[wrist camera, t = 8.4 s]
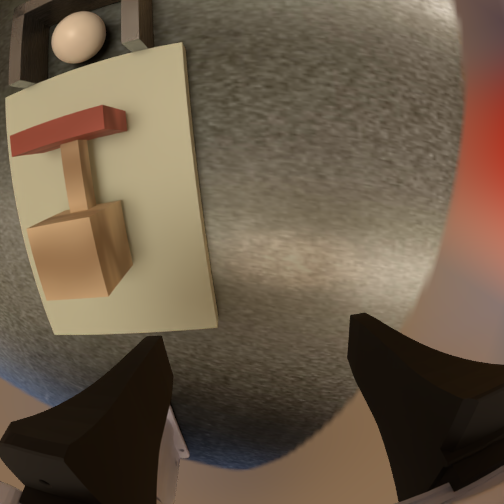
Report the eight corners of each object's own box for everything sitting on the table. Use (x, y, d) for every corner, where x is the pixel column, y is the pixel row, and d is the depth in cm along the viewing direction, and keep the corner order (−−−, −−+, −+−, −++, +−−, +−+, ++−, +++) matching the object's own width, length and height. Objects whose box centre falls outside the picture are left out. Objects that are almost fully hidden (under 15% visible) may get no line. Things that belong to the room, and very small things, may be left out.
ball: (94, -5, 12) (114, 15, 15) (43, 16, 12) (68, 30, 15) (92, 45, 13) (114, 60, 16) (40, 65, 13) (67, 74, 16)
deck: (218, 316, 22) (217, 327, 21) (62, 325, 22) (54, 334, 21) (185, 49, 16) (182, 42, 15) (17, 99, 16) (5, 97, 15)
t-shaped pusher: (148, 262, 19) (126, 295, 14) (66, 271, 19) (33, 301, 14) (125, 110, 16) (93, 102, 12) (41, 134, 16) (-2, 136, 11)
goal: (154, 55, 16) (139, 38, 13) (37, 90, 16) (8, 85, 13) (152, -18, 14) (139, -42, 11) (39, 21, 14) (14, 8, 11)
